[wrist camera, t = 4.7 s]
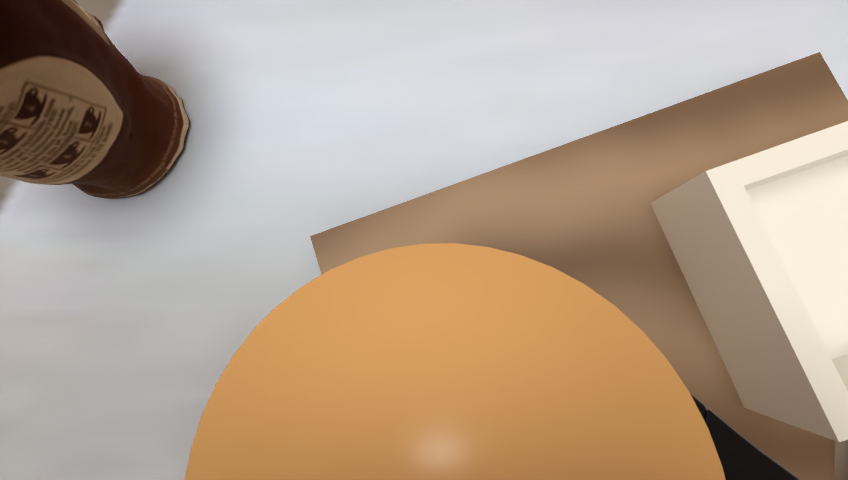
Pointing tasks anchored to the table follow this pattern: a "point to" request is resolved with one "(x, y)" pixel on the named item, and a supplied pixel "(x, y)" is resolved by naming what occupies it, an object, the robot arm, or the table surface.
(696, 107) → the cable board
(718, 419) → the robot arm
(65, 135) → the coffee cup
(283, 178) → the table surface
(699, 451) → the tan cylinder
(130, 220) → the table surface
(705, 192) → the end holder
